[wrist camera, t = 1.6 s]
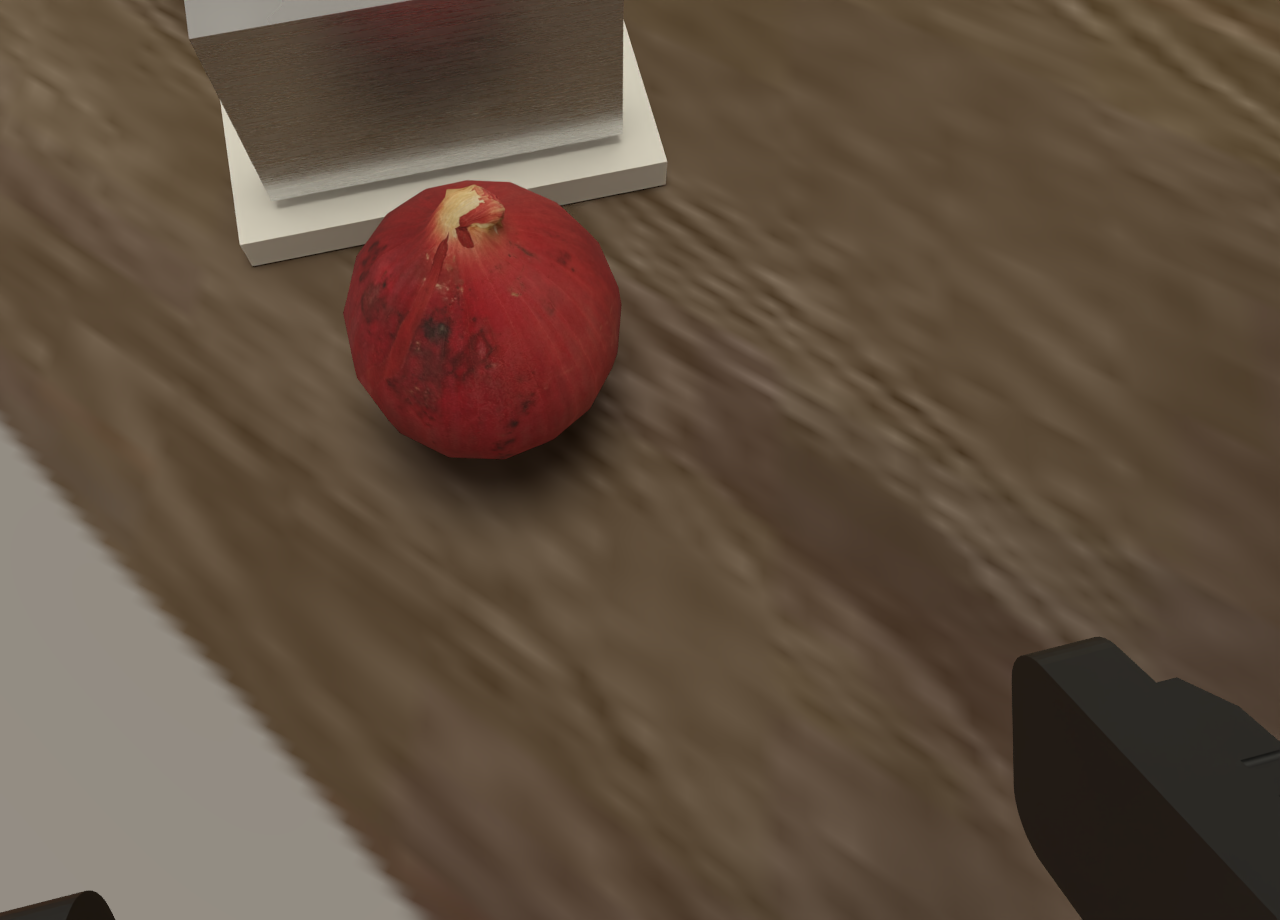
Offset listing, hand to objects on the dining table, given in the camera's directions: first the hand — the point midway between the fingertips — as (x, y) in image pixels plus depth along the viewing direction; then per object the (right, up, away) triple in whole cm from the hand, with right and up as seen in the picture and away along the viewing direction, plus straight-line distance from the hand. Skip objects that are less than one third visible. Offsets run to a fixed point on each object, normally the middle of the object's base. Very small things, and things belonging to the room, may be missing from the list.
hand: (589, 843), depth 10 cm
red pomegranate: (-3, +5, +18) cm, 18 cm away
